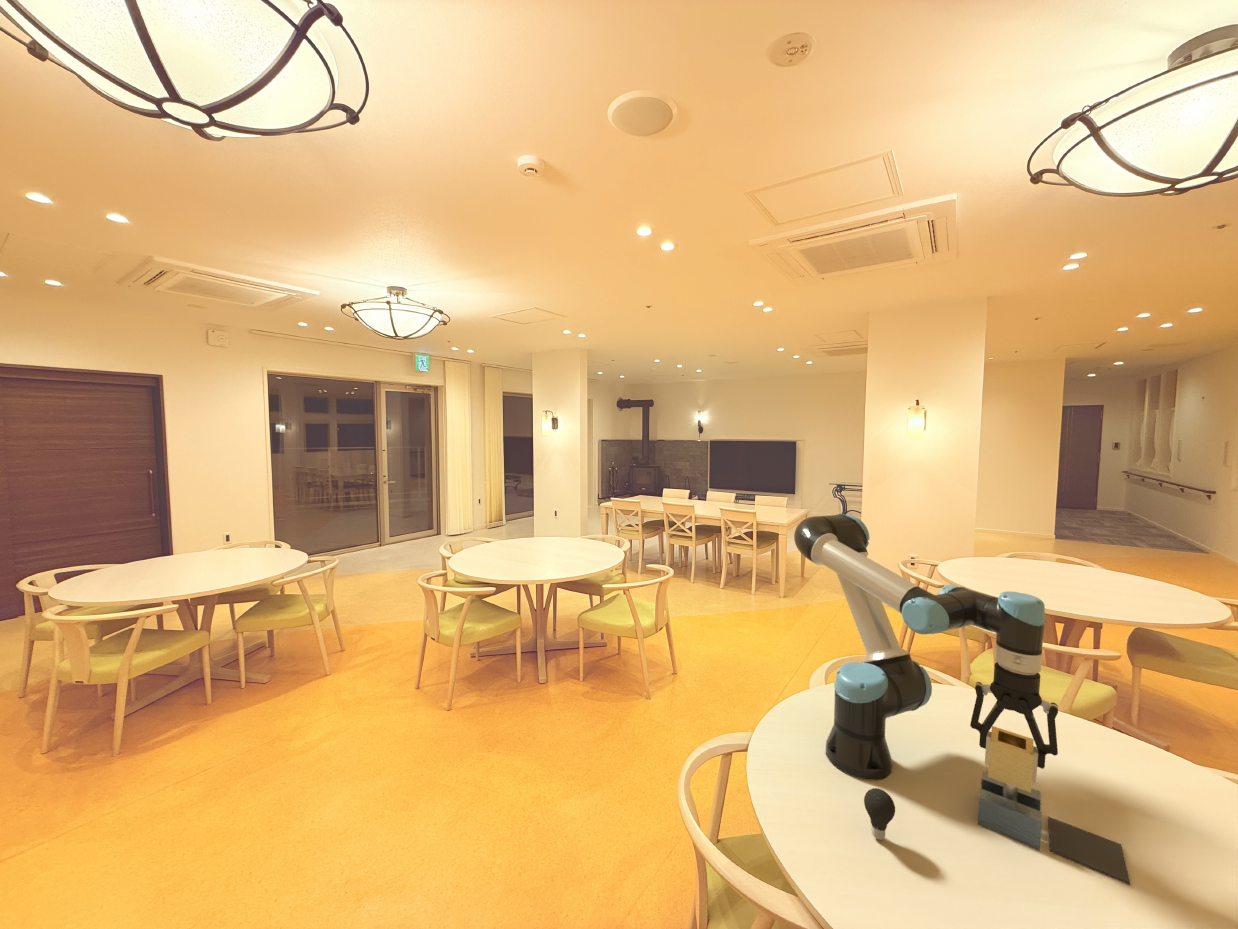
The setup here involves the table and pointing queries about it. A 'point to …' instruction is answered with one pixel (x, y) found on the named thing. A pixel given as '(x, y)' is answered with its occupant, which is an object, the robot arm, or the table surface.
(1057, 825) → the mat
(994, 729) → the open wooden box
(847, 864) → the table surface
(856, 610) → the robot arm
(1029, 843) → the vise
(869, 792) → the light bulb
